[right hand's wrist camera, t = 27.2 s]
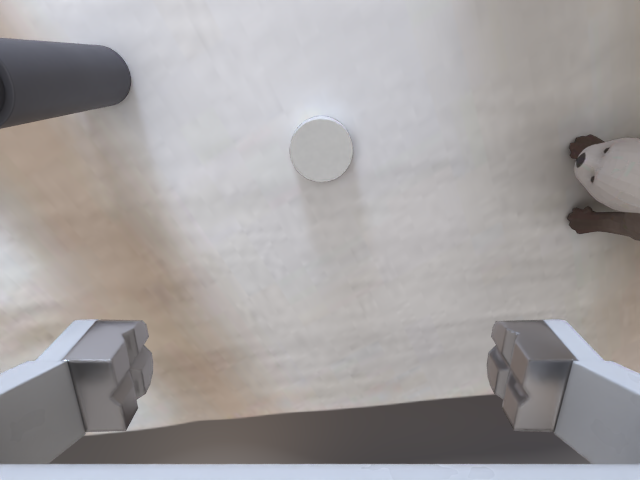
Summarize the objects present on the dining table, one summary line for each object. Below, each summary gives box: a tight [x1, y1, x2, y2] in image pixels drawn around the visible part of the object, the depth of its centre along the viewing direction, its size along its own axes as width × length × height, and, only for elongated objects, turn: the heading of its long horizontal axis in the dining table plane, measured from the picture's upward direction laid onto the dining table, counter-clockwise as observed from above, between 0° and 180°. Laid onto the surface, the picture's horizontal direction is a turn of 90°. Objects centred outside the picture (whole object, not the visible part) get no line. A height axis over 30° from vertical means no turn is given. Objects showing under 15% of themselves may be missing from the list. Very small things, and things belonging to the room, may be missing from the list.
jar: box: [0, 38, 131, 129], centre depth 26 cm, size 4×4×15 cm
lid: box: [290, 116, 353, 182], centre depth 34 cm, size 5×5×2 cm
